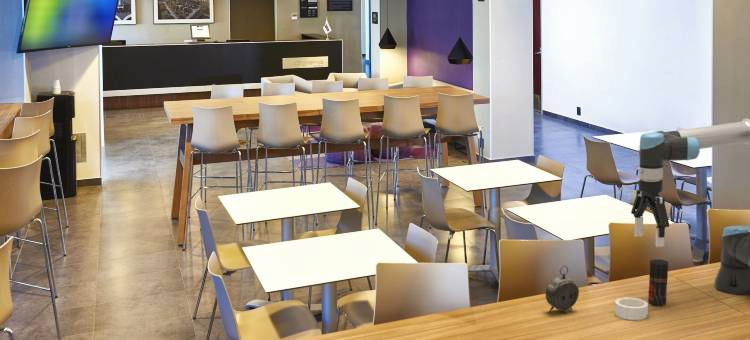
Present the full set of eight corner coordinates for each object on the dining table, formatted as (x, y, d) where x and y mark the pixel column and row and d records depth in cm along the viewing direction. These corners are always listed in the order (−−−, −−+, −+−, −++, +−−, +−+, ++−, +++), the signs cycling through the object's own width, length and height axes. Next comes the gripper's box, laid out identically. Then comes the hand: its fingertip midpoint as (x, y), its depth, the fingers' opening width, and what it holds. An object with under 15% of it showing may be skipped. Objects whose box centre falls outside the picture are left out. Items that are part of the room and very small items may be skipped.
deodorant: (667, 307, 301) (669, 264, 298) (649, 306, 302) (651, 264, 299) (665, 301, 306) (667, 259, 304) (647, 300, 308) (649, 259, 305)
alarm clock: (571, 307, 302) (573, 261, 299) (580, 312, 297) (582, 266, 294) (544, 311, 298) (545, 265, 295) (553, 316, 293) (554, 270, 290)
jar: (637, 308, 300) (638, 296, 299) (653, 318, 290) (653, 306, 289) (609, 310, 298) (610, 299, 297) (624, 321, 288) (624, 309, 287)
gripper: (622, 173, 303) (620, 232, 307) (660, 187, 279) (658, 252, 283) (641, 171, 305) (640, 231, 309) (681, 185, 281) (679, 249, 285)
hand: (648, 241), depth 296 cm, fingers open, 13 cm apart
